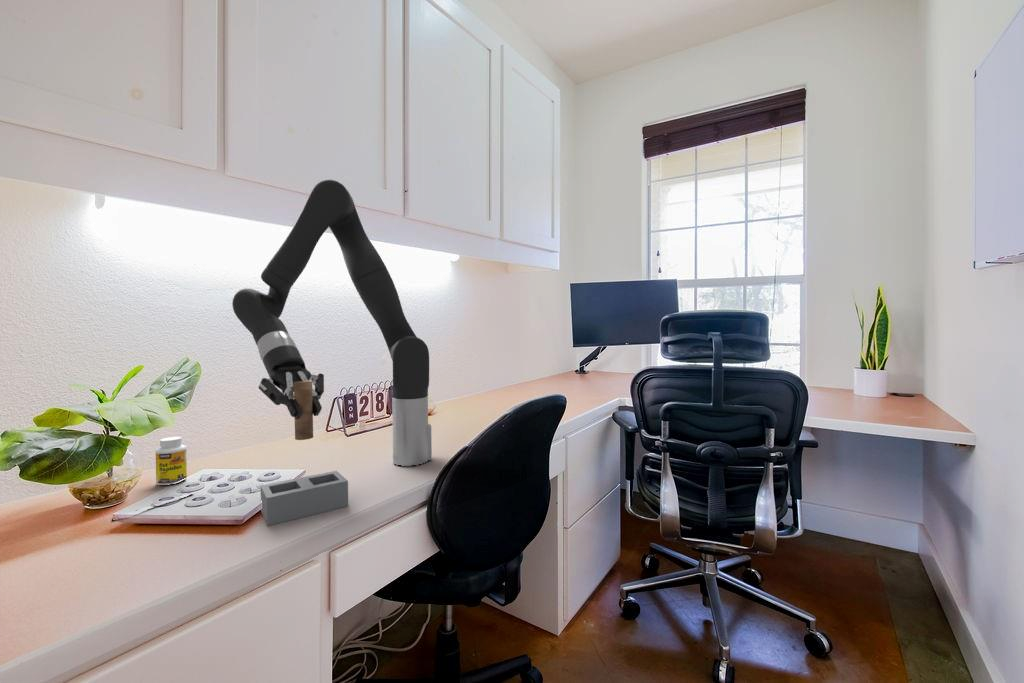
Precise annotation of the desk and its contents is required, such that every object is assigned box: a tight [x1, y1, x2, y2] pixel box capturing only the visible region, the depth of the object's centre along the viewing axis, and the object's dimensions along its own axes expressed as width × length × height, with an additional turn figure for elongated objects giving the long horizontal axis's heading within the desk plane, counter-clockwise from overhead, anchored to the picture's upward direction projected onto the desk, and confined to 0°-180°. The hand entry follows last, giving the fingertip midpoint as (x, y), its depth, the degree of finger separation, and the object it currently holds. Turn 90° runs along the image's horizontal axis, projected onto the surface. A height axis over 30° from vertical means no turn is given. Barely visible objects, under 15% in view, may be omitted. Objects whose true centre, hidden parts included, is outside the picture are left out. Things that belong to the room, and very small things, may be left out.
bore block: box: [260, 470, 349, 527], centre depth 83 cm, size 14×8×5 cm, turn 128°
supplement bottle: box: [155, 436, 188, 486], centre depth 98 cm, size 6×6×10 cm
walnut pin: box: [293, 380, 314, 441], centre depth 91 cm, size 4×4×12 cm
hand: (308, 414), depth 90 cm, fingers closed on walnut pin, 3 cm apart
